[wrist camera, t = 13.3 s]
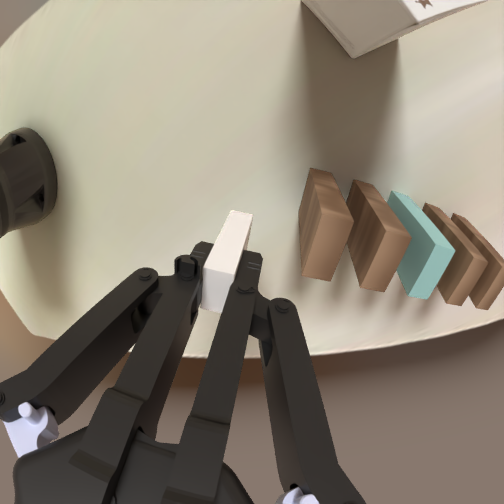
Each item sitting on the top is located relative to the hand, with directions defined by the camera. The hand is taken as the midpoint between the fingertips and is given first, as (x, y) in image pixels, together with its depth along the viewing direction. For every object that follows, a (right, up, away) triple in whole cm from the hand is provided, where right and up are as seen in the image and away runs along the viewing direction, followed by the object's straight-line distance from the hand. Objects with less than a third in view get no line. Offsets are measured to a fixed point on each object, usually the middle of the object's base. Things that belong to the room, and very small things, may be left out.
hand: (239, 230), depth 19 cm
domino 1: (+7, +5, +9) cm, 12 cm away
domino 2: (+12, +4, +9) cm, 15 cm away
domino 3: (+21, +2, +8) cm, 22 cm away
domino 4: (+25, +1, +8) cm, 27 cm away
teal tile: (+16, +3, +9) cm, 19 cm away
